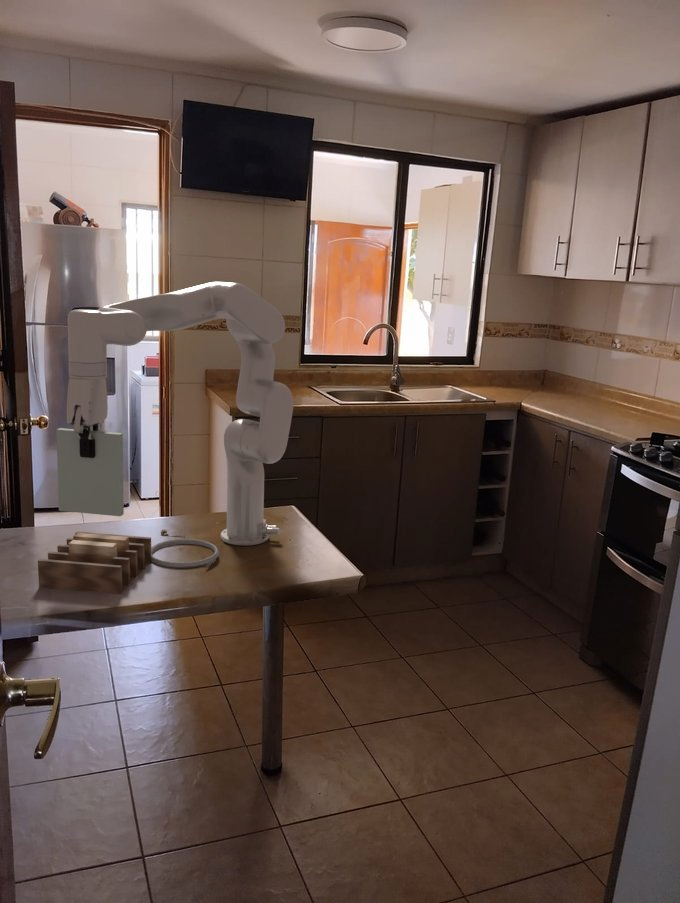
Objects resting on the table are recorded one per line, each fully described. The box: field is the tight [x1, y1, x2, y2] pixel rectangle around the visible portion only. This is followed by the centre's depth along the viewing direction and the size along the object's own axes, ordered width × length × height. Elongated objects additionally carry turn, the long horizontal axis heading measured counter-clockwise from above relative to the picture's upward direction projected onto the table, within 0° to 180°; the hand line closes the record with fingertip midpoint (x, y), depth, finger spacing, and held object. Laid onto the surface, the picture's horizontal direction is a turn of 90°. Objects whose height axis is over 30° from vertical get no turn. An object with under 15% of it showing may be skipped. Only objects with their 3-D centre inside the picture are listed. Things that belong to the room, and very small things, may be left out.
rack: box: [37, 531, 153, 595], centre depth 166 cm, size 18×19×7 cm
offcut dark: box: [72, 533, 129, 550], centre depth 167 cm, size 12×2×8 cm, turn 84°
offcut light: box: [68, 540, 117, 557], centre depth 163 cm, size 10×2×8 cm, turn 84°
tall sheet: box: [55, 427, 125, 517], centre depth 159 cm, size 14×2×18 cm, turn 83°
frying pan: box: [151, 528, 220, 569], centre depth 184 cm, size 17×3×28 cm
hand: (90, 455), depth 158 cm, fingers closed on tall sheet, 1 cm apart
